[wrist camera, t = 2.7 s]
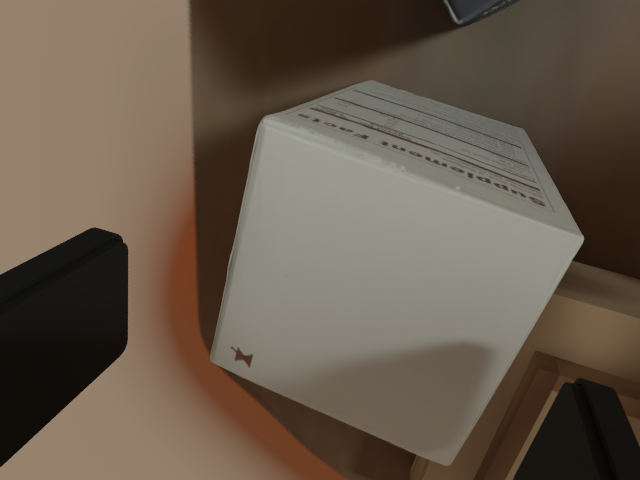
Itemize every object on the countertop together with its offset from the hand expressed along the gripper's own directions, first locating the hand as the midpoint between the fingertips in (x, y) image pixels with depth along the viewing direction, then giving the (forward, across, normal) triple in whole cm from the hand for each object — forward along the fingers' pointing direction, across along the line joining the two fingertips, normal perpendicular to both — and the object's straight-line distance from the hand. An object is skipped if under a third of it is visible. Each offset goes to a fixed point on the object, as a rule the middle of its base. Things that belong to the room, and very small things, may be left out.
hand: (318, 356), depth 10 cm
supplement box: (+14, -1, 0) cm, 15 cm away
